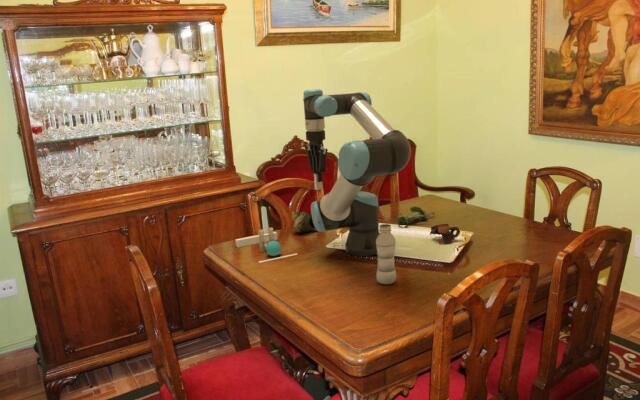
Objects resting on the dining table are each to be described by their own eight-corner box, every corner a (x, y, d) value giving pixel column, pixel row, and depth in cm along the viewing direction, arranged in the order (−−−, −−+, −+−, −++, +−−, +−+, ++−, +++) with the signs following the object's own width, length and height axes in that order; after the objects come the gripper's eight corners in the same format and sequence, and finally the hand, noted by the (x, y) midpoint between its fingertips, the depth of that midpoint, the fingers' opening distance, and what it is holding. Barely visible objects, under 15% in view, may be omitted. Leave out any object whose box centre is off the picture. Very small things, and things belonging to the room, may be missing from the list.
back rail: (275, 238, 241) (275, 231, 241) (277, 239, 240) (276, 232, 239) (235, 246, 234) (235, 239, 233) (237, 247, 232) (236, 240, 231)
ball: (282, 238, 221) (281, 252, 223) (266, 237, 220) (266, 251, 223) (281, 245, 215) (280, 259, 217) (265, 244, 215) (265, 258, 217)
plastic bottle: (374, 280, 190) (372, 223, 185) (394, 278, 190) (393, 222, 186) (378, 287, 184) (376, 229, 179) (398, 285, 184) (397, 227, 179)
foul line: (296, 253, 220) (296, 253, 220) (297, 254, 219) (297, 254, 219) (258, 262, 213) (258, 261, 213) (259, 263, 212) (259, 262, 212)
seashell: (316, 236, 241) (315, 214, 238) (291, 236, 243) (289, 214, 241) (321, 229, 251) (320, 207, 249) (297, 229, 253) (295, 207, 251)
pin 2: (275, 249, 227) (274, 227, 225) (272, 250, 226) (270, 229, 224) (271, 248, 228) (270, 227, 226) (268, 249, 227) (267, 228, 225)
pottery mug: (431, 246, 222) (427, 226, 225) (434, 249, 231) (430, 230, 233) (461, 239, 219) (456, 219, 221) (463, 242, 228) (458, 223, 230)
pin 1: (266, 251, 225) (264, 229, 223) (262, 252, 224) (261, 231, 222) (262, 250, 227) (260, 229, 224) (259, 251, 225) (257, 230, 223)
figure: (415, 215, 269) (384, 228, 251) (413, 200, 267) (382, 212, 250) (445, 217, 258) (414, 231, 240) (443, 202, 256) (413, 215, 239)
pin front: (273, 248, 223) (264, 243, 231) (269, 247, 222) (260, 242, 230) (272, 253, 223) (263, 247, 231) (267, 252, 222) (259, 246, 230)
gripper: (298, 130, 220) (302, 188, 225) (315, 132, 209) (319, 193, 215) (314, 128, 224) (318, 185, 229) (332, 130, 213) (335, 190, 218)
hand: (318, 189), depth 222 cm, fingers closed
